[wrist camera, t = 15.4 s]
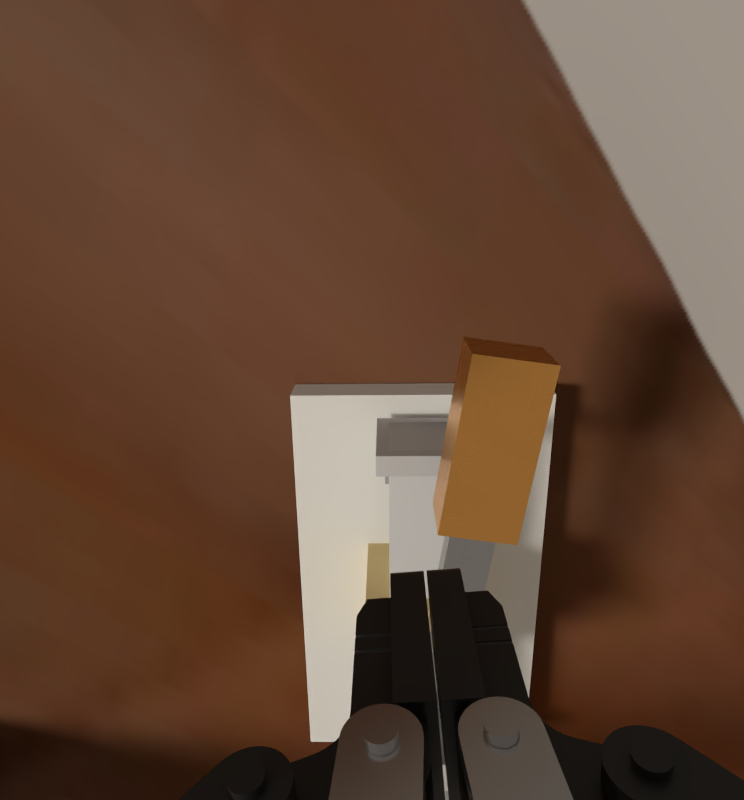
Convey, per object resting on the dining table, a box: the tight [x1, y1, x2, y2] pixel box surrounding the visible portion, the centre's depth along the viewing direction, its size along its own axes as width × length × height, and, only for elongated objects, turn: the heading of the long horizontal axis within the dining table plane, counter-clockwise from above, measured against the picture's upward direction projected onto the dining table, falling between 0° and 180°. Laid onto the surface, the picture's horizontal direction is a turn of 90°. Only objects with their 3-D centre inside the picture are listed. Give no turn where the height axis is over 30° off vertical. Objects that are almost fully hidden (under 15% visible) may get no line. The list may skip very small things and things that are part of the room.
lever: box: [429, 337, 561, 765], centre depth 25 cm, size 3×19×2 cm, turn 172°
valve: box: [290, 383, 556, 800], centre depth 33 cm, size 24×14×10 cm, turn 1°
